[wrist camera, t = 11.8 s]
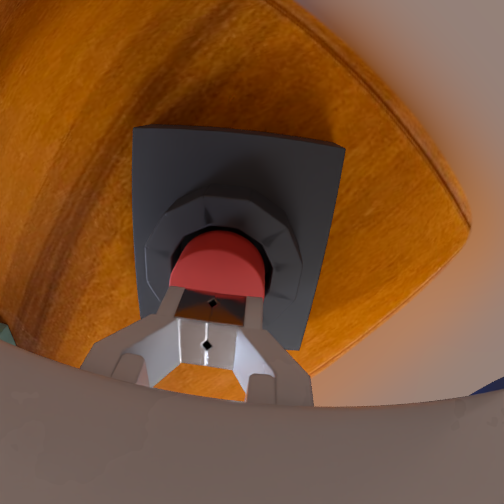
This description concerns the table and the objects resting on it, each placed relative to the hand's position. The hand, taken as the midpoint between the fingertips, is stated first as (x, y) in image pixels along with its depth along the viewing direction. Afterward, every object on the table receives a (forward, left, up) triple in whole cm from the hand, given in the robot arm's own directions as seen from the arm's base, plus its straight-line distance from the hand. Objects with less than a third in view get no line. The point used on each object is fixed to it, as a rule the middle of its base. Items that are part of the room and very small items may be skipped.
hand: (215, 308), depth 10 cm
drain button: (0, 0, -3) cm, 3 cm away
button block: (0, 0, -7) cm, 7 cm away
